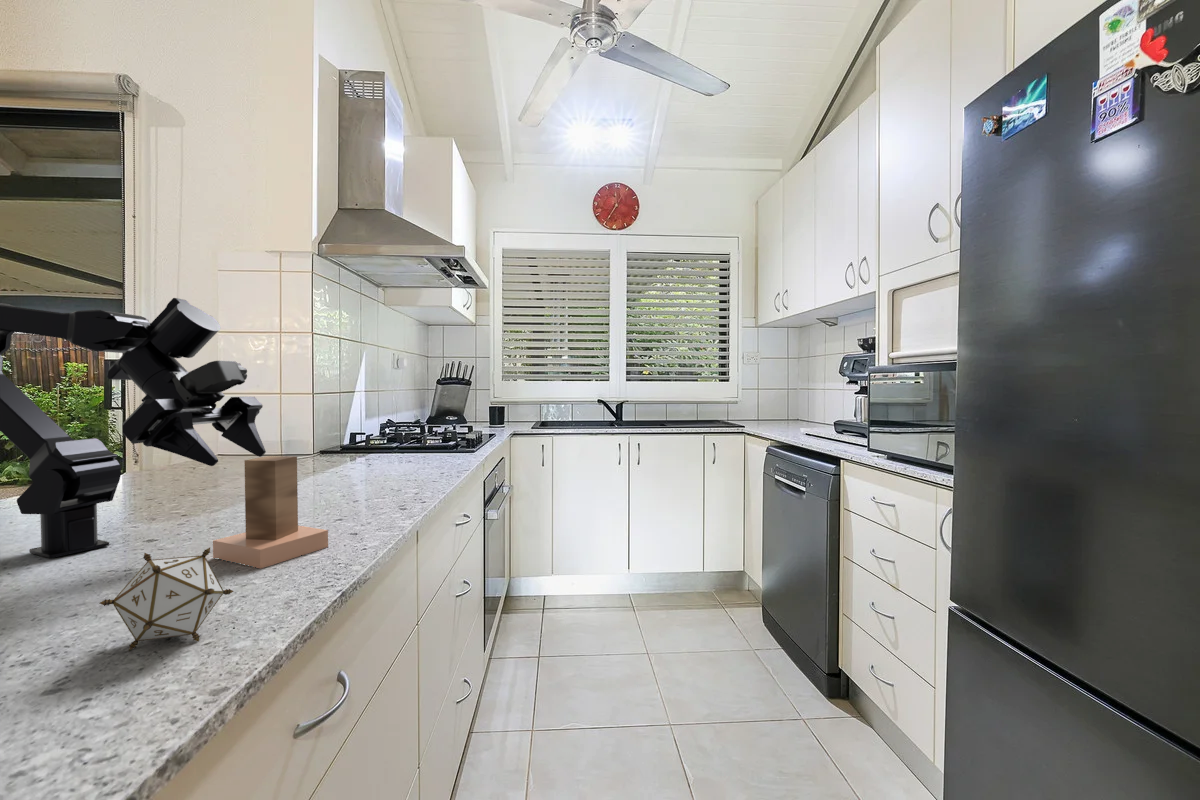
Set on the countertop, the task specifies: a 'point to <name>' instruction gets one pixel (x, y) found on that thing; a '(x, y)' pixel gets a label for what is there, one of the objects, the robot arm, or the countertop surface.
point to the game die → (168, 598)
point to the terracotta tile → (270, 547)
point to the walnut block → (271, 497)
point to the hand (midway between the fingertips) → (240, 458)
